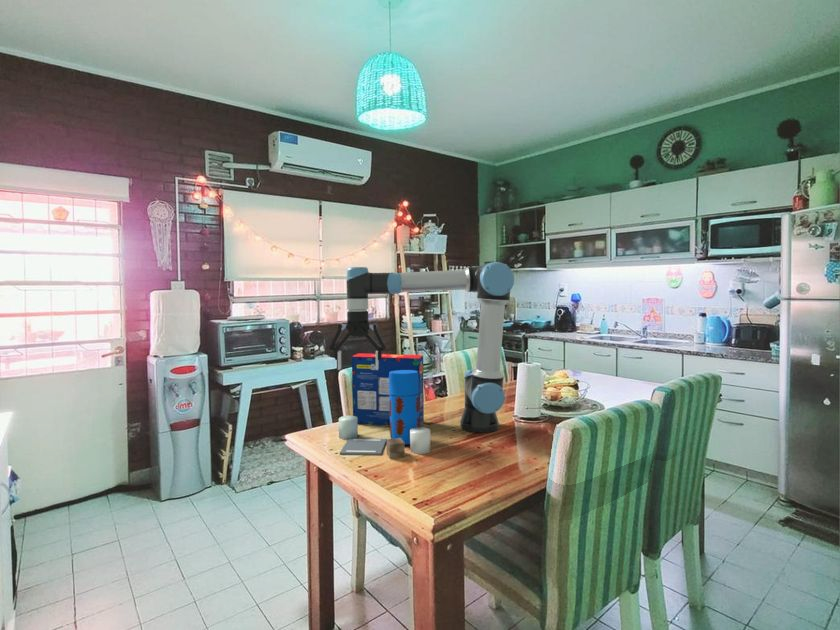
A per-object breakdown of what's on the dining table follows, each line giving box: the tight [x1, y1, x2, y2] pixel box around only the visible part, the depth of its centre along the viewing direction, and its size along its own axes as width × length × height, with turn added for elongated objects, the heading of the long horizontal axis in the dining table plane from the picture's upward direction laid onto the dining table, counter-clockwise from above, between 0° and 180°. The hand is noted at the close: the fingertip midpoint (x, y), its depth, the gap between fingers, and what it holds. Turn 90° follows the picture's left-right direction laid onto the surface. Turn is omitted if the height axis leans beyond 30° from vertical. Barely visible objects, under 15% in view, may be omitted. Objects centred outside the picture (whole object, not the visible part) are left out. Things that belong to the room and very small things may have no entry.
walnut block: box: [385, 438, 406, 460], centre depth 152 cm, size 5×5×5 cm
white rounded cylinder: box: [409, 426, 431, 455], centre depth 157 cm, size 7×7×7 cm
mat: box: [339, 438, 387, 456], centre depth 160 cm, size 14×14×1 cm
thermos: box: [389, 370, 420, 445], centre depth 166 cm, size 11×11×25 cm
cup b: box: [338, 415, 359, 441], centre depth 171 cm, size 7×7×7 cm
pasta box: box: [351, 353, 425, 427], centre depth 187 cm, size 28×8×28 cm, turn 78°
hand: (358, 369), depth 164 cm, fingers open, 13 cm apart
